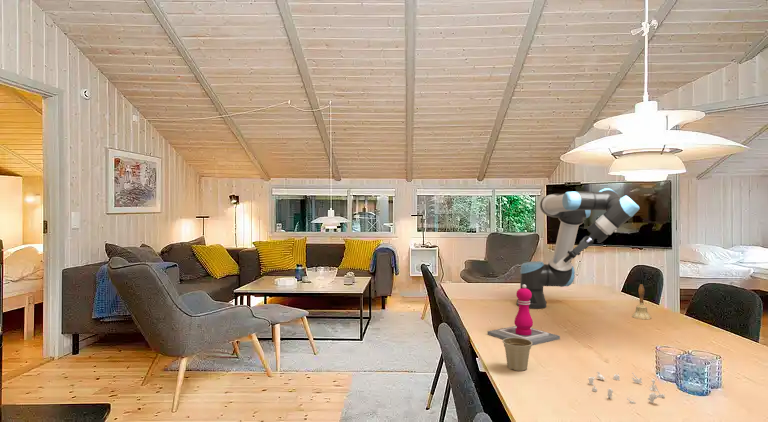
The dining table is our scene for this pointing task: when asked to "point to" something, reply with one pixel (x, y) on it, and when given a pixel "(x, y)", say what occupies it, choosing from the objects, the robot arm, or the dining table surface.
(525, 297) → the pepper mill
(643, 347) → the dining table surface
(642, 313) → the hand bell
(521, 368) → the flower pot
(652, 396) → the game piece set
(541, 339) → the plate
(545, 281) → the robot arm
